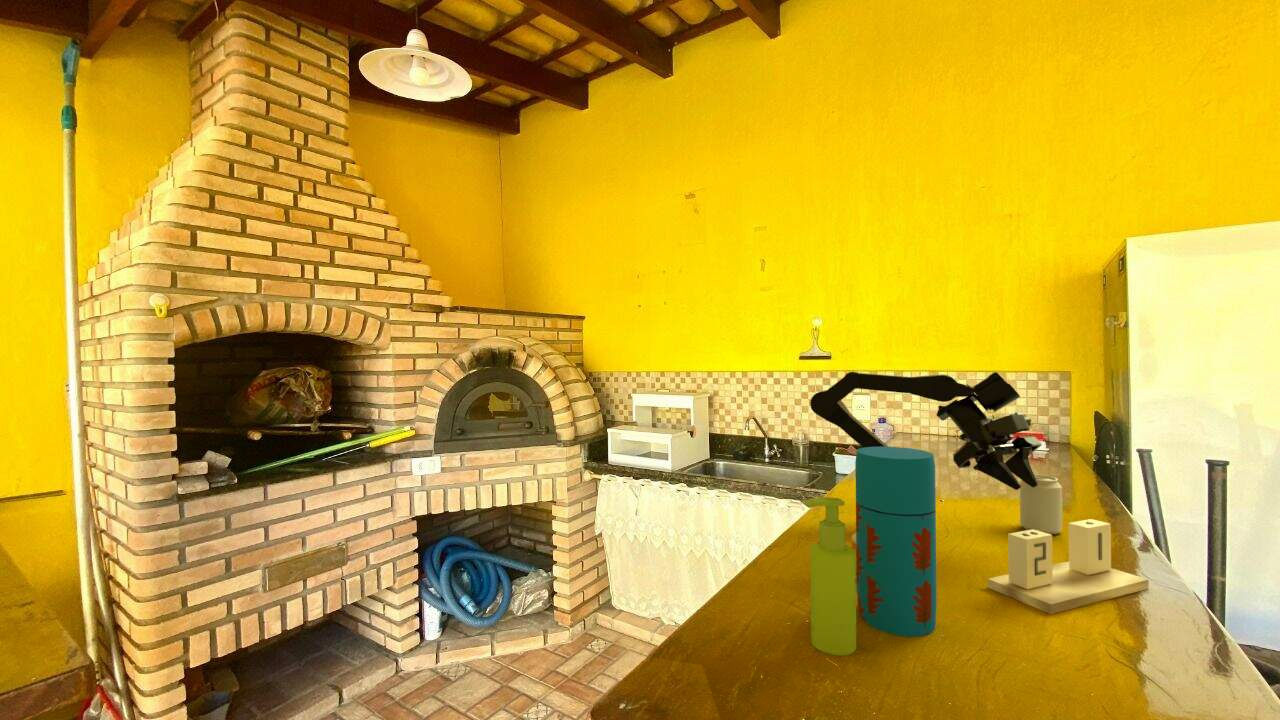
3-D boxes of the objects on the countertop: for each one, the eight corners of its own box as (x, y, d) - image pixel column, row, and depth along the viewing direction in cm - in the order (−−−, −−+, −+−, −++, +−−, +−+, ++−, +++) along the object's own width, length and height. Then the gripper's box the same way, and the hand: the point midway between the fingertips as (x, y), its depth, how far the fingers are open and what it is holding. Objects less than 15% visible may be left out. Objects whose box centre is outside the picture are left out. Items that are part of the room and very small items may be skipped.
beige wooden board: (987, 587, 90) (987, 578, 90) (1081, 566, 98) (1081, 558, 98) (1050, 614, 80) (1050, 604, 80) (1148, 588, 89) (1148, 579, 89)
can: (1047, 525, 122) (1047, 473, 122) (1070, 536, 114) (1070, 480, 114) (1012, 524, 122) (1012, 472, 122) (1033, 535, 115) (1033, 480, 115)
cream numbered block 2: (1008, 581, 88) (1008, 533, 88) (1033, 576, 90) (1033, 528, 90) (1028, 589, 85) (1027, 539, 85) (1053, 583, 87) (1053, 534, 87)
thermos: (929, 607, 83) (928, 448, 83) (944, 642, 73) (942, 461, 73) (855, 598, 87) (853, 445, 87) (859, 630, 77) (857, 457, 76)
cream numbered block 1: (1069, 568, 93) (1068, 522, 93) (1091, 563, 95) (1090, 518, 95) (1089, 575, 90) (1089, 527, 90) (1112, 570, 92) (1112, 523, 92)
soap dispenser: (797, 634, 76) (795, 494, 76) (844, 631, 76) (842, 492, 76) (814, 657, 70) (812, 505, 70) (864, 654, 70) (863, 503, 70)
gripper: (965, 400, 104) (1023, 467, 94) (1031, 397, 111) (1092, 459, 100) (931, 435, 112) (981, 501, 101) (995, 430, 118) (1048, 491, 108)
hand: (1027, 487), depth 103 cm, fingers open, 4 cm apart
